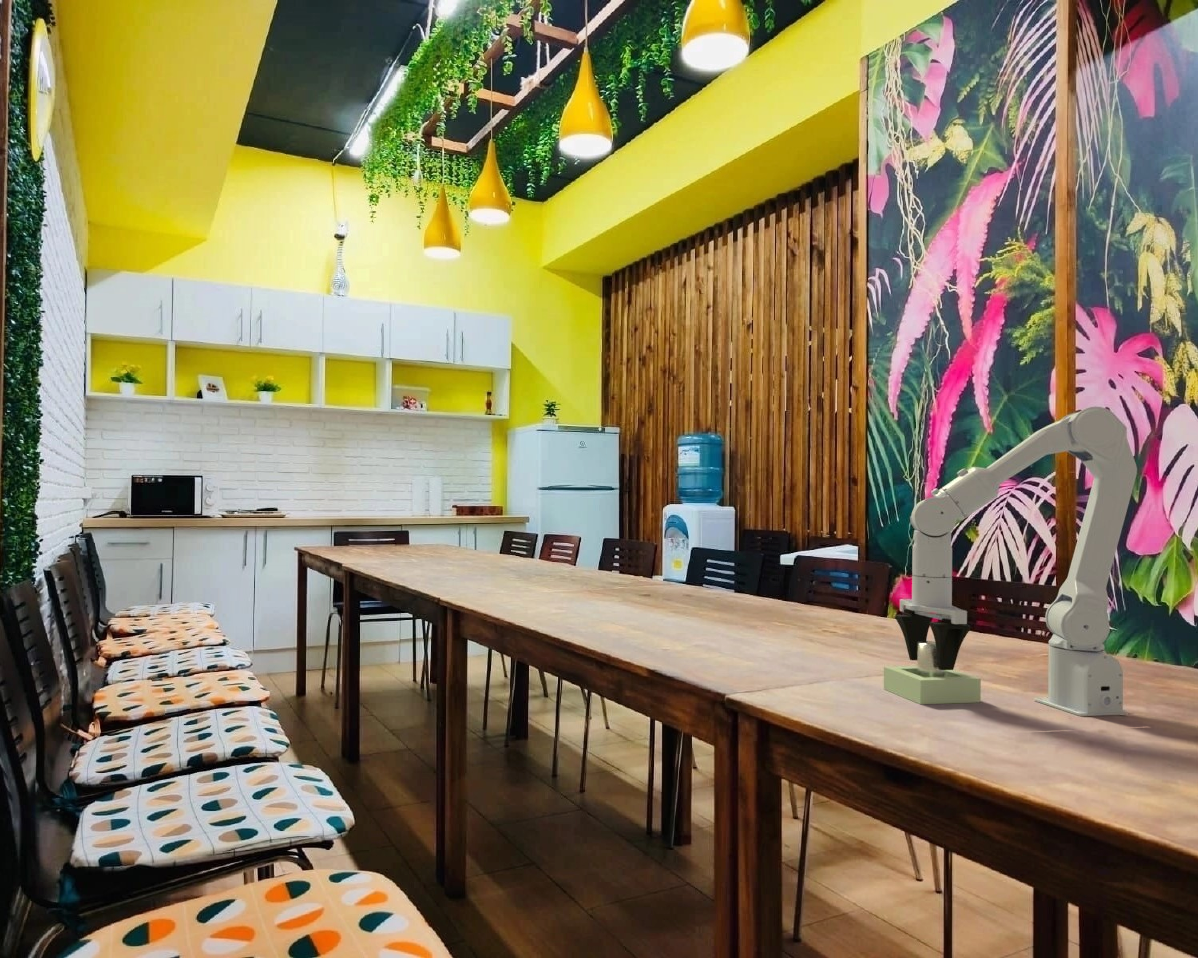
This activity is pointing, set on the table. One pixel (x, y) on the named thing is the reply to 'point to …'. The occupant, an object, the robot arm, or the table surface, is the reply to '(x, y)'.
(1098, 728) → the table surface
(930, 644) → the peg
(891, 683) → the green tray
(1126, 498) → the robot arm
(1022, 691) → the table surface
